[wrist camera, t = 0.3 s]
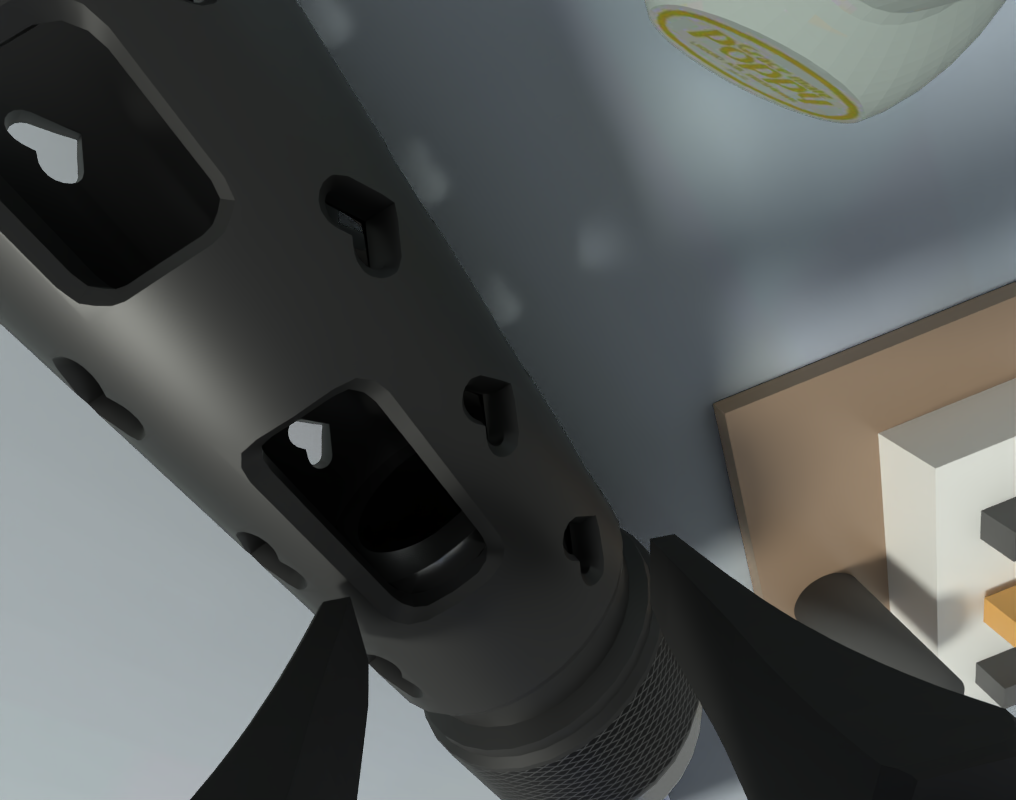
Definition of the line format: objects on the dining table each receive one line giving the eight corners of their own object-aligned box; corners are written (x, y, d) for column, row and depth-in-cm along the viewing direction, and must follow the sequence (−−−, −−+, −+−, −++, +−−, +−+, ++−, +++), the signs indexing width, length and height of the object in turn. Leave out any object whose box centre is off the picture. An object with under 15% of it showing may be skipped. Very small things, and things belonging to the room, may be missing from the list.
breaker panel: (1087, 630, 35) (1197, 709, 30) (788, 749, 35) (850, 848, 30) (1152, 226, 24) (1346, 247, 19) (712, 403, 24) (791, 470, 19)
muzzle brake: (235, -96, 16) (47, -500, 6) (640, 556, 28) (784, 752, 18) (-54, 96, 16) (-678, -21, 6) (476, 663, 28) (535, 915, 18)
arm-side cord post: (862, 611, 30) (964, 715, 24) (798, 636, 30) (885, 746, 24) (857, 562, 28) (965, 662, 23) (790, 589, 28) (881, 695, 23)
